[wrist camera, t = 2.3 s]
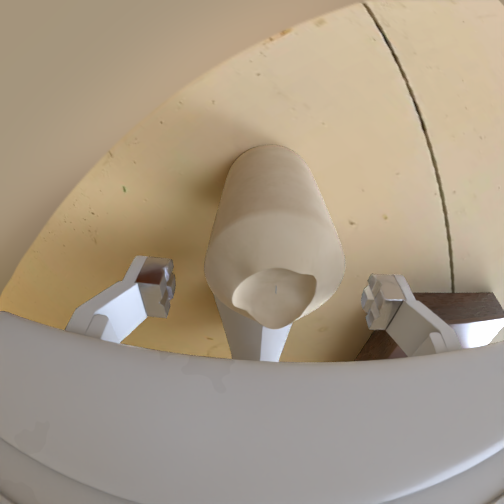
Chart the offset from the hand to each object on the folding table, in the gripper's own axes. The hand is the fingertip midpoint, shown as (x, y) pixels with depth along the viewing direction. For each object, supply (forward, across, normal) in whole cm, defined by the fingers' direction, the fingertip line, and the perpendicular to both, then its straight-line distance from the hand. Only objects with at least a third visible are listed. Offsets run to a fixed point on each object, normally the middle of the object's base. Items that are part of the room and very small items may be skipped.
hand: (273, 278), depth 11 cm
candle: (+9, 0, 0) cm, 9 cm away
